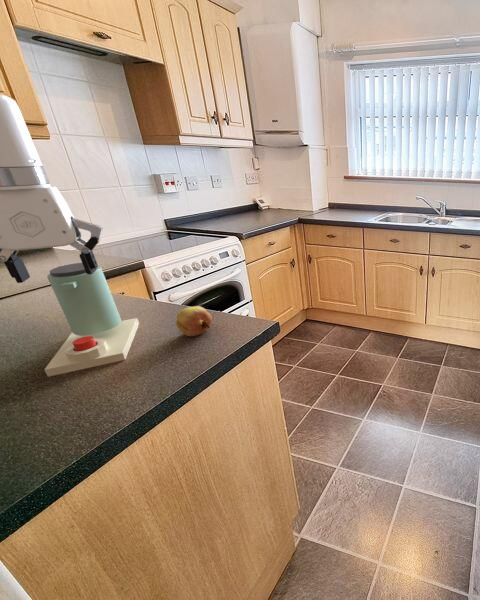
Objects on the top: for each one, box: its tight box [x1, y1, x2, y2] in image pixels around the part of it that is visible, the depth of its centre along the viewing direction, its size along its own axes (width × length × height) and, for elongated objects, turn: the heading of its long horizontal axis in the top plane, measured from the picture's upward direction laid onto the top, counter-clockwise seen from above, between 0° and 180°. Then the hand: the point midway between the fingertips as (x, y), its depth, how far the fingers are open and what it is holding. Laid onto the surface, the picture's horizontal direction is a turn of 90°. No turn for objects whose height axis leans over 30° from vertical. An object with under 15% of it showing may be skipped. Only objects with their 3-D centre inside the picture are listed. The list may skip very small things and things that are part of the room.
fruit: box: [175, 305, 213, 337], centre depth 78 cm, size 7×7×10 cm
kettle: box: [46, 262, 122, 336], centre depth 72 cm, size 12×8×14 cm
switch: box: [72, 336, 97, 351], centre depth 67 cm, size 3×3×2 cm
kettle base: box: [44, 317, 140, 378], centre depth 73 cm, size 18×12×4 cm, turn 28°
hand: (59, 276), depth 63 cm, fingers open, 9 cm apart
